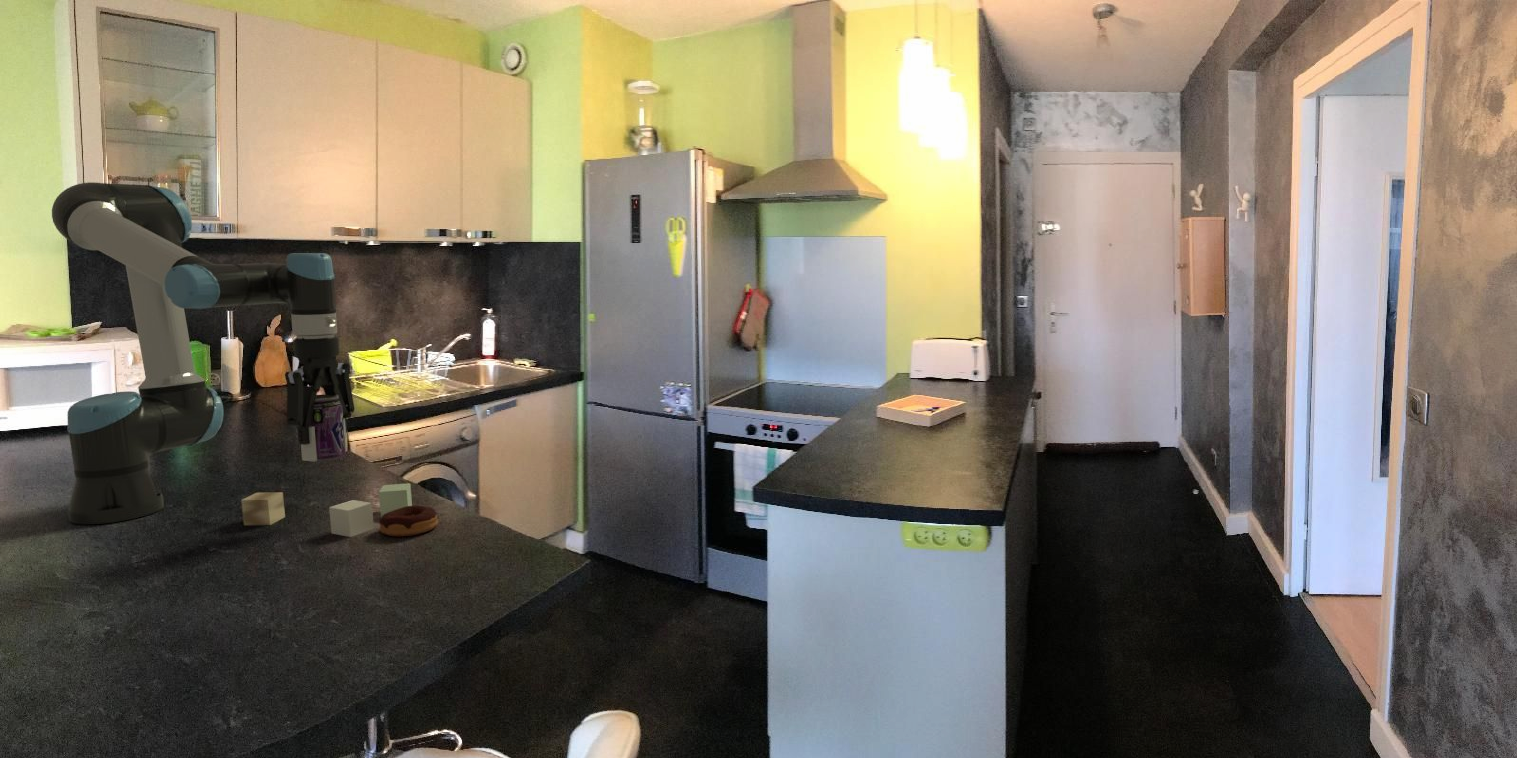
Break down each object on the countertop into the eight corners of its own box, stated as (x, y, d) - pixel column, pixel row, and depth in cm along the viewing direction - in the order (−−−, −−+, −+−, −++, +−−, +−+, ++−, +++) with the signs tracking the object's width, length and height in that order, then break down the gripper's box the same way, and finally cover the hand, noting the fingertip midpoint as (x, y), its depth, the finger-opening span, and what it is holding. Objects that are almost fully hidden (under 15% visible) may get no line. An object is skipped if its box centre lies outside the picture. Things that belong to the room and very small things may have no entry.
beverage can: (329, 464, 160) (324, 401, 158) (296, 462, 161) (290, 399, 160) (354, 455, 167) (349, 394, 165) (322, 453, 168) (317, 393, 166)
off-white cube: (331, 533, 156) (329, 507, 155) (355, 525, 161) (352, 500, 160) (350, 537, 154) (348, 510, 153) (373, 529, 158) (371, 503, 158)
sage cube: (380, 517, 166) (378, 492, 165) (385, 509, 171) (383, 485, 170) (408, 514, 167) (406, 490, 166) (412, 507, 172) (410, 483, 171)
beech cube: (244, 525, 161) (241, 500, 161) (259, 517, 166) (257, 492, 166) (270, 525, 161) (267, 499, 161) (285, 517, 166) (282, 492, 166)
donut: (425, 519, 165) (424, 498, 164) (448, 530, 158) (446, 509, 157) (371, 531, 158) (369, 510, 157) (393, 543, 151) (391, 522, 150)
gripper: (290, 342, 150) (300, 470, 154) (370, 331, 169) (377, 445, 173) (255, 341, 152) (266, 467, 156) (338, 330, 171) (346, 443, 175)
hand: (325, 455), depth 164 cm, fingers closed on beverage can, 7 cm apart
